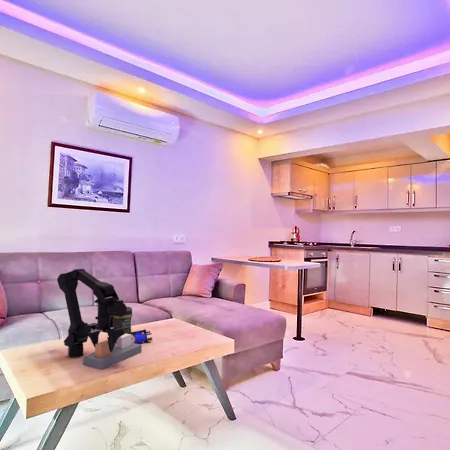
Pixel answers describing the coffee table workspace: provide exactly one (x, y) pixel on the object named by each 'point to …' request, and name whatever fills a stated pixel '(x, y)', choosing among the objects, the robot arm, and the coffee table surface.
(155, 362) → the coffee table surface
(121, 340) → the pale pink plug
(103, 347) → the terracotta plug
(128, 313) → the coffee jar
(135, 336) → the character figurine
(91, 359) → the header
